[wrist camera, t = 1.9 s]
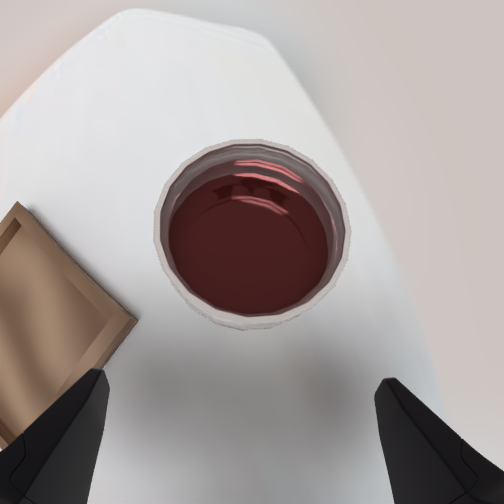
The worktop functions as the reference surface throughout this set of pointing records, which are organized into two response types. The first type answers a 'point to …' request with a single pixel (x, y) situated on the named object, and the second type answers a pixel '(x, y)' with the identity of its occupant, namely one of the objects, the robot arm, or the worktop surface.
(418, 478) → the robot arm
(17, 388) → the tray
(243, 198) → the wineglass
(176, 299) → the worktop surface
